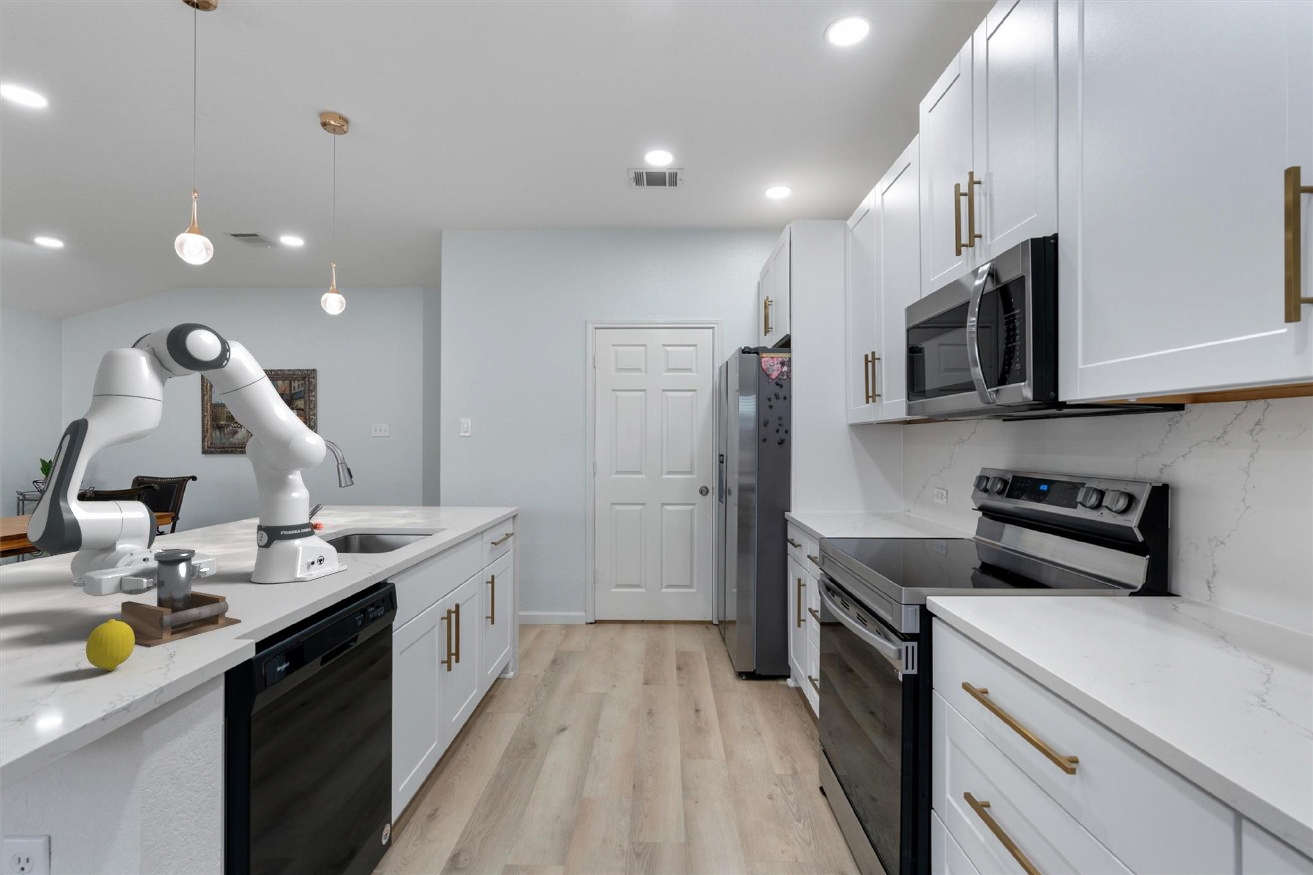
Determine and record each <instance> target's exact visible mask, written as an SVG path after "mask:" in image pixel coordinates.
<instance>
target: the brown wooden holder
mask: <svg viewBox="0 0 1313 875" xmlns="http://www.w3.org/2000/svg"><path fill="white" fill-rule="evenodd" d="M226 599H227V598H226V596H223V595H218V594H211V593H206V592H201V591H200V592H199V591H196V590H195V591H193V590H191V609H189V610H185V611H181V612H176V613H172V614H171V609H167V608H162V607H157V605H152V604H147V603H141V602H138V601H137V602H136V601H130V600H128V601H124V602H122V601H121V604H120V606H121V613H120V615H121V616H120V621H121V622H124V623H126V624H128V625H129V626H130V627H131V628H132V630H133V633H134V637H135V645H136V644H137V645H141V646H146V647H149V648H151V647H156V646H160V645H162V644H166V643H170V642H173V641H177V640H182V639H185V638H188V637H192V636H195V635H201V634H203V633H207V632H210V631H214V630H218V629H222V628H226V627H229V626H232V625H233V626H234V625H237V624H240V623H242V619H240V618H239V619H238V618H233V617H229V616H226V613H228V611H229V608H230V607H229V603H228V602H227V600H226ZM190 621H191V624H190V625H188V626H186V627H183V628H178V629H173V630H171V626H174V625H178V624H182V623H186V622H190Z"/></svg>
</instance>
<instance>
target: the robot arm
mask: <svg viewBox="0 0 1313 875" xmlns="http://www.w3.org/2000/svg"><path fill="white" fill-rule="evenodd" d="M196 373H198V374H200V375H202V376H203V377H205V378H206V379H207V380H208V381H209V382H210V383H211V385H212V387H213V388H214V390H215V391H216V393H217V395H219V397H220V398H221V400H222V401H223V403H224V405H225V406H226V408H227V409H228V411H229V412H230V413H231V415H232V416H233V418H234V419H235V421H236V422H237V423H238V424H239V425H241V426H242V427H244V429H246V430H247V431H249V432H250V433H251V434H252V436H251V437H250V438H249V439H248V441H247V443H246V446H245V454H246V457H247V459H248V460H249V461H250V463H251V465H252V468H253V472H254V476H255V481H256V485H257V489H258V500H259V501H258V502H259V503H258V504H259V505H258V508H259V509H258V510H259V516H258V517H259V519H258V520H259V521H258V524H257V525H256V544H257V552H256V558H255V563H254V568H253V571H252V575H251V577H250V581H251V582H253V583H260V584H276V583H279V584H281V583H289V582H291V583H292V582H308V581H311V580H315V579H318V578H321V577H324V576H325V577H326V576H329V575H332V574H335V573H339V572H343V571H345V570H348V565H347V564H345V563H343V562H339V559H338V558H339V557H338V552H337V549H336V548H335V547H334V546H333V545H332V544H331V543H328V542H327V541H325V540H324V539H322V538H321V537H319V536H317V535H316V532H315V531H316V530H317V531H323V529H324V523H323V522H314V523H312V522H311V521H310V492H309V490H308V488H307V487H306V485H305V483H304V481H303V477H302V475H301V472H303V471H306V470H310V469H312V468H315V467H317V466H319V465H320V464H321V463H322V462H323V461H324V459H325V457H326V455H327V445H326V442H325V440H324V439H323V438H322V437H321V436H320V435H319V434H317V432H314V431H313V430H311V429H310V428H309V427H308V426H307V425H306V423H304V422H303V421H302V420H301V419H300V417H298V416H297V414H295V412H294V411H293V410H292V409H291V408H290V407H289V406H288V405H287V404H286V403H285V401H284V399H282V397H281V396H280V394H279V393H278V391H277V389H276V388H275V386H274V384H273V383H272V382H271V380H270V379H269V376H268V375H267V374H266V372H265V370H264V369H263V368H262V367H261V365H260V363H259V362H258V361H257V360H256V359H255V357H254V356H253V355H252V353H251V352H250V351H249V350H248V349H247V348H246V347H245V346H244V345H243V344H241V342H238V341H237V340H232V339H225V338H224V337H222V336H221V334H219V333H218V331H216V330H214V329H213V328H211V327H210V326H207V325H204V324H200V323H194V322H193V323H192V322H190V323H189V322H188V323H187V322H185V323H181V324H177V325H176V324H175V325H169V326H164V327H162V328H160V329H157V330H156V331H154V332H153V331H152V332H149V333H146V334H144V335H142V336H141V337H139V338H138V339H137V340H136V341H135V342H134V343H133V344H132V345H131V347H118V348H113V349H111V350H109V351H107V352H105V353H104V355H103V356H102V358H101V360H100V363H99V366H98V369H97V371H96V376H95V379H94V383H93V389H92V398H91V401H90V406H89V408H88V409H87V412H86V413H85V414H84V415H83V416H82V417H81V418H78V419H76V420H73V421H71V422H70V423H69V424H68V425H67V427H66V429H65V430H64V432H63V435H62V436H61V438H60V441H59V444H58V446H57V448H56V451H55V454H54V457H53V459H52V462H51V465H50V466H51V467H50V469H49V472H48V474H47V477H46V480H45V484H44V485H43V486H44V487H43V490H42V492H41V494H40V497H39V500H38V502H37V504H36V505H35V508H34V509H33V511H32V513H31V516H30V518H29V521H28V523H27V528H26V538H27V541H28V543H30V544H31V545H32V546H34V548H36V549H38V550H40V551H41V552H43V553H45V554H48V555H59V554H61V555H62V554H68V553H75V552H77V553H76V554H75V555H74V556H73V558H72V560H71V562H70V571H71V573H72V576H74V578H75V579H76V580H72V581H71V585H72V587H76V588H77V587H78V588H82V592H83V593H84V594H86V595H89V596H91V597H105V596H109V595H111V596H112V595H116V594H125V595H131V596H136V595H142V594H145V593H147V592H149V591H152V590H155V589H157V562H158V561H155V560H154V554H155V553H158V552H163V551H169V550H181V549H182V548H170V549H167V548H166V549H152V546H153V545H154V542H155V540H156V536H157V531H158V521H157V518H156V515H155V513H154V512H153V511H152V510H151V509H150V507H149V506H148V505H147V504H146V503H144V502H142V501H140V500H109V501H106V500H105V501H101V500H100V501H99V500H98V501H94V500H93V501H92V500H91V501H90V500H89V501H86V500H85V501H83V500H82V501H81V500H78V494H79V491H80V488H81V485H82V482H83V478H84V476H85V473H86V470H87V466H88V464H89V461H90V460H91V458H92V457H93V456H94V455H95V454H96V453H99V451H102V450H104V449H106V448H111V447H113V446H118V445H119V446H120V445H124V444H127V443H131V442H135V441H139V440H141V439H143V438H146V437H148V436H149V435H150V434H152V433H153V432H154V431H155V430H156V429H157V428H158V427H159V425H160V423H161V420H162V415H163V404H164V388H165V385H166V383H167V381H168V379H173V378H177V377H179V378H181V377H185V376H186V377H187V376H190V375H193V374H196ZM217 561H218V559H217V557H215V555H210V554H206V553H201V552H195V556H194V557H192V571H191V580H193V579H197V578H199V579H201V578H203V579H204V578H207V577H210V576H213V575H215V574H216V573H217V569H218V562H217Z"/></svg>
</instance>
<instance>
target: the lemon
mask: <svg viewBox="0 0 1313 875" xmlns="http://www.w3.org/2000/svg"><path fill="white" fill-rule="evenodd" d="M135 645H136V643H135V637H134V633H133V630H132V628H131V627H130V626H129V625H128V624H126V623H124V622H121V620H120V621H119V620H116V619H114V618H111V619H108V620H107V621H106V622H103V623H102V624H99V625H98V626H97V627H95V628H94V629H93V630H92V631H91V632H90V634H89V636H88V638H87V640H86V646H85V654H86V659H87V660H88V662H89V664H91V665H92V666H94V667H96V668H98V669H99V668H100V669H104V670H106V671H107V672H112V671H114V670H115V669H116V668H117V667H118V666H119V665H121V664H123V663H125V661H127V660H128V659H129V658H130V657H131V655H132V653H133V651H134V648H135Z"/></svg>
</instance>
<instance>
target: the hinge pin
mask: <svg viewBox="0 0 1313 875" xmlns="http://www.w3.org/2000/svg"><path fill="white" fill-rule="evenodd" d="M180 549H181V550H169V551H163V552H158V553H155V554H154V560H155V561H158V562H157V588H156V606H157V607H162V608H167V609H171V614H172V613H176V612H181V611H185V610H189V609H191V591H192V579H191V571H192V557H194V556H195V553H196V550H195V549H190V548H189V549H187V548H180ZM190 624H191V621H190V622H186V623H182V624H178V625H174V626H171V630H173V629H178V628H183V627H186V626H188V625H190Z"/></svg>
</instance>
